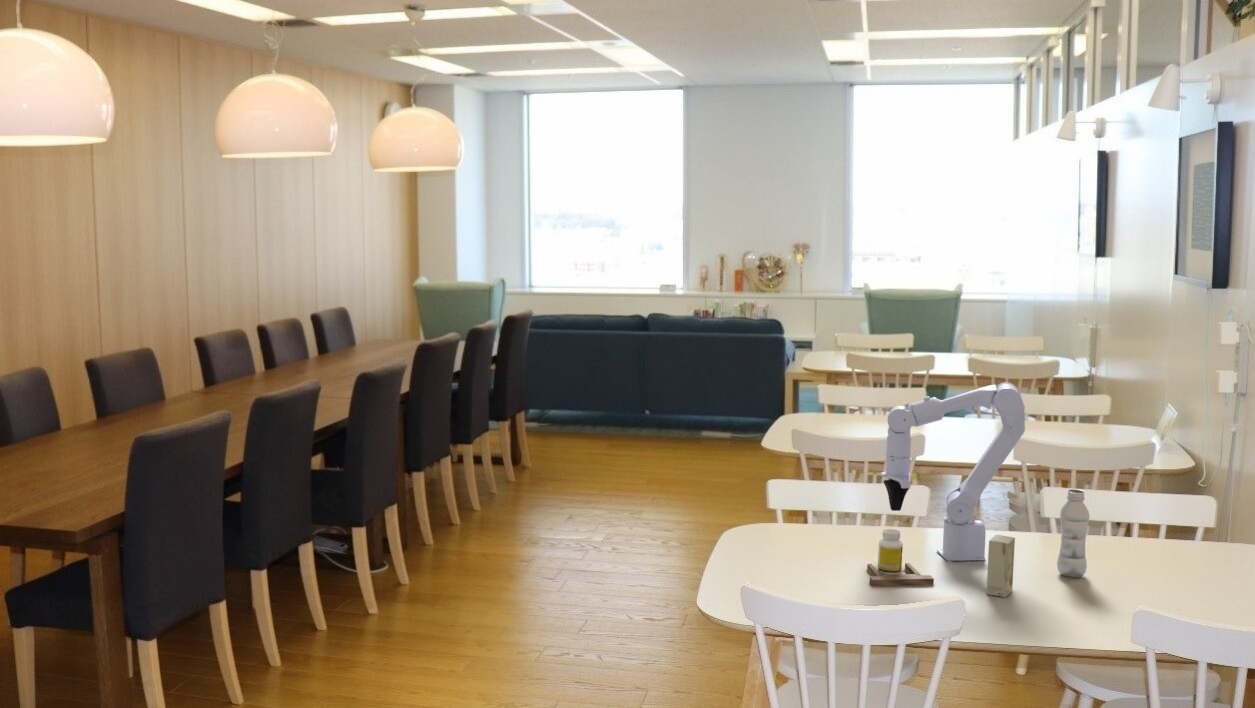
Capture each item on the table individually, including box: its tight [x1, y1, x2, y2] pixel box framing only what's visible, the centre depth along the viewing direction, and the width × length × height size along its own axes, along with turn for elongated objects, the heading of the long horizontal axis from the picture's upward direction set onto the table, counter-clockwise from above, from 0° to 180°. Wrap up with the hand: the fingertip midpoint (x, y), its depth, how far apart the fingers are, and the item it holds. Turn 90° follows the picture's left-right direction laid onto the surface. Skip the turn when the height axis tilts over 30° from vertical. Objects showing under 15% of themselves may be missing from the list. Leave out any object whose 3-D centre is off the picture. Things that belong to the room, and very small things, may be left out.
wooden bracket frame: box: [866, 562, 935, 587], centre depth 268 cm, size 14×11×2 cm
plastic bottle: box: [1056, 489, 1090, 578], centre depth 268 cm, size 6×7×20 cm
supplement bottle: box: [877, 528, 904, 575], centre depth 271 cm, size 5×5×10 cm
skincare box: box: [985, 534, 1016, 598], centre depth 257 cm, size 6×4×12 cm
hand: (895, 509), depth 286 cm, fingers closed
